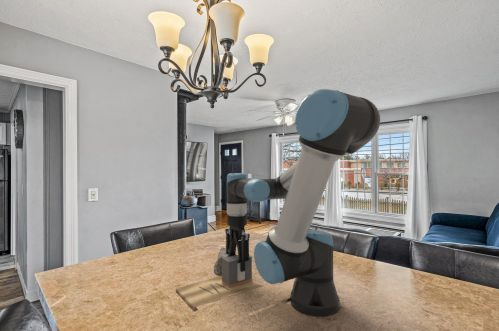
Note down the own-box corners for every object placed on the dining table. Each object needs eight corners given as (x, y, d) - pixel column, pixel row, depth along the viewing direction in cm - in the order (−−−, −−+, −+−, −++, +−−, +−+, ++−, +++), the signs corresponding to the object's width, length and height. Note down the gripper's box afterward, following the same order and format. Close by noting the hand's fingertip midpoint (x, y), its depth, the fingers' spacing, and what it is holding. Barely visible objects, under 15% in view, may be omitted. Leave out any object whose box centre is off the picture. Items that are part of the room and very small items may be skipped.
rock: (223, 278, 102) (226, 251, 104) (204, 275, 104) (206, 249, 106) (235, 271, 117) (237, 247, 118) (218, 268, 119) (220, 246, 121)
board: (262, 288, 93) (262, 285, 93) (194, 310, 78) (194, 307, 78) (238, 274, 107) (238, 271, 107) (175, 291, 92) (175, 288, 92)
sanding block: (244, 276, 102) (244, 253, 102) (251, 280, 98) (251, 256, 98) (221, 282, 96) (221, 258, 96) (228, 287, 92) (228, 262, 92)
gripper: (259, 216, 92) (259, 283, 92) (232, 210, 107) (233, 267, 106) (241, 218, 88) (241, 288, 87) (216, 212, 103) (216, 271, 102)
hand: (237, 277), depth 97 cm, fingers closed on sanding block, 5 cm apart
